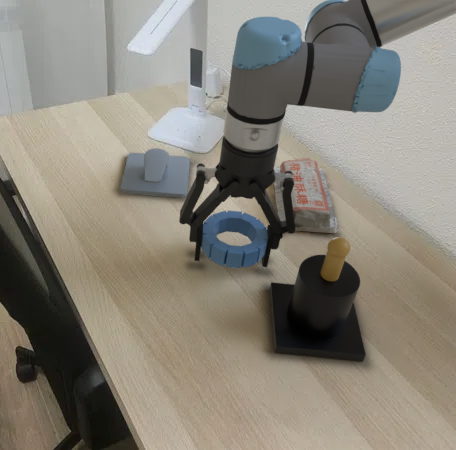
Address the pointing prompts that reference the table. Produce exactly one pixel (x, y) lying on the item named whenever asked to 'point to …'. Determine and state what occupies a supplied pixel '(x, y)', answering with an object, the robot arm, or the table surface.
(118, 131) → the table surface
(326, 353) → the tape holder
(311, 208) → the packaged product
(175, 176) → the shower valve
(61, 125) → the table surface
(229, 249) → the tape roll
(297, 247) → the table surface
